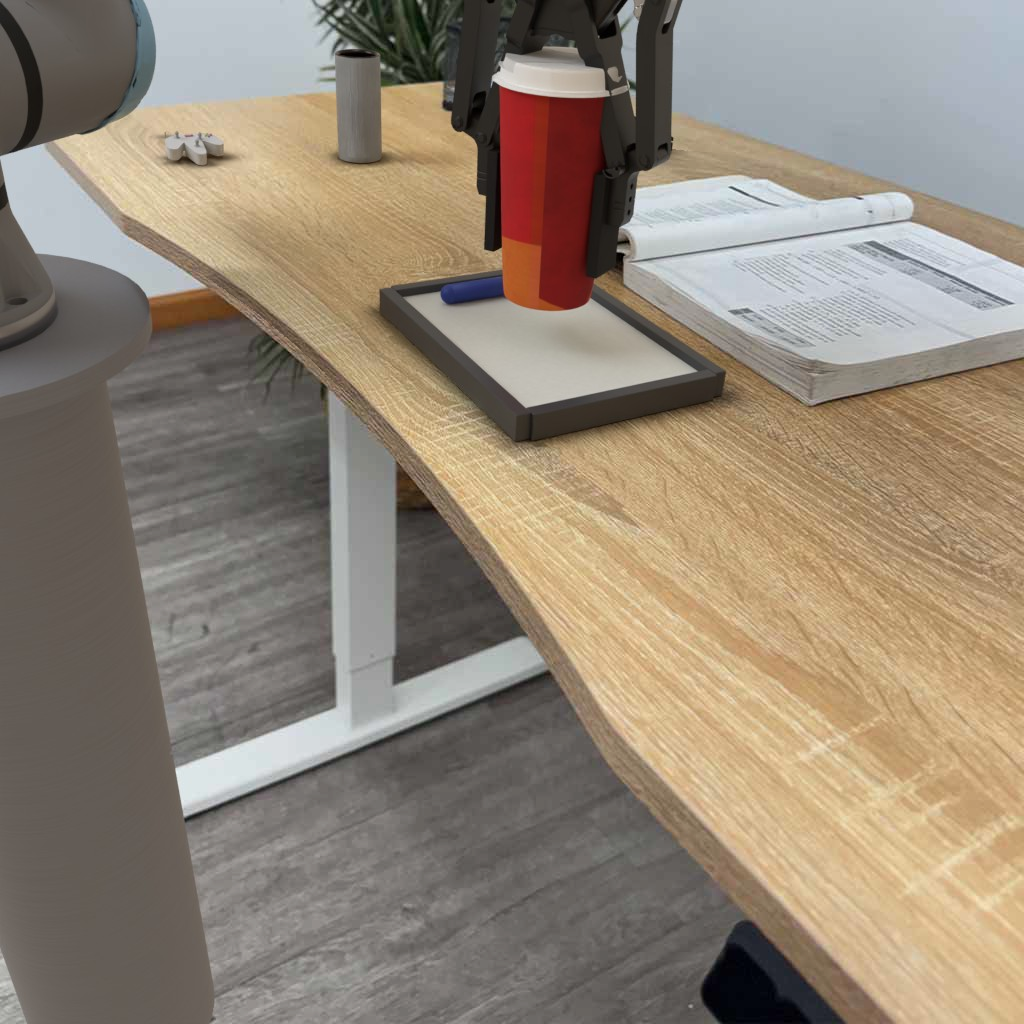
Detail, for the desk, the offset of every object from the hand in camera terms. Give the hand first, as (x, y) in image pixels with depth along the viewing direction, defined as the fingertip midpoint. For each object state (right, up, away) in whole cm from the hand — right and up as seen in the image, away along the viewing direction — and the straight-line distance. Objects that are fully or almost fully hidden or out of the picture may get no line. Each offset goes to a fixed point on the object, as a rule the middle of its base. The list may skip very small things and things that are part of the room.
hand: (548, 257), depth 70 cm
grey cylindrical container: (-18, +20, +42) cm, 50 cm away
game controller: (-36, +21, +41) cm, 58 cm away
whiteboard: (0, -6, +4) cm, 7 cm away
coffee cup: (0, -2, +2) cm, 3 cm away
